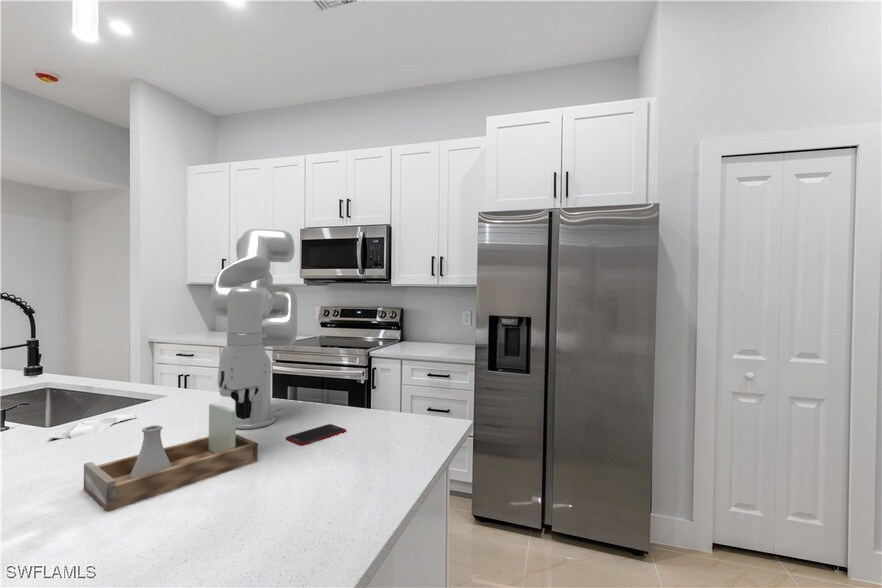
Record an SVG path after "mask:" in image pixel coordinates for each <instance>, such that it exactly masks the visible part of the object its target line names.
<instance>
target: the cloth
mask: <svg viewBox="0 0 882 588" xmlns="http://www.w3.org/2000/svg"><path fill="white" fill-rule="evenodd" d="M140 415H142V413H141V412H137V413H135V412H134V413H129V414H113V415H110V416H106V417H103V418H99V419H93V420H86V421H80V422H81V423H80V422H79V423H76V424H74V425H72V426H71V427H70V428H68V429H65V430H63V431H62V432H60V433H58V434H57V436H51V437H49V438H48V439H47V440H45V444H47V443H49V442H52V440H54V439H61V440H63V439H68V438H70V439H74V438H77V437H81V435H82V436H85V434H86V435H89V433H90V434H93V432H94V433H96V432H99V431H98V430H100V431H103V429H104V430H106V429H108V428H110V427H111V426H112V425H114V424H117V423H120V421H123V420H124V421H123V422H125V421H129V419H130V420H132V419H138V417H136V416H140ZM70 430H72V431H71V432H69V431H70ZM95 431H96V432H95Z"/></svg>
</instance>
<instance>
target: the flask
mask: <svg viewBox="0 0 882 588" xmlns="http://www.w3.org/2000/svg"><path fill="white" fill-rule="evenodd" d="M161 430H163V425H157V424H156V425H155V424H154V425H148V426H145V427H143V428H142V429H141V432H142V433H143V439H142V444H141V449H140V451H139V453H138V455H139V456H138V458H137V460H136V463H135V465H134V467H133V469H132V472H131V474H130V476H129V479H133V478H136V477H139V476H143V475H146V474H149V473H153V472H156V471H160V470H163V469H166V468H170V467H172V466H171V464H170V461H169V459H168V457H167V455H166V453H165V450H164V448H165V447H164V445H163V443H162V442H163V441H162V437H161ZM129 479H128V480H129Z"/></svg>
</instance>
